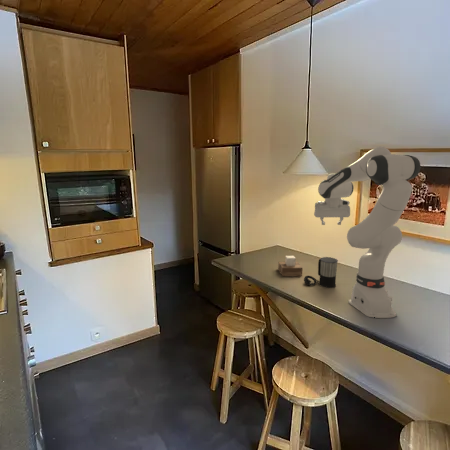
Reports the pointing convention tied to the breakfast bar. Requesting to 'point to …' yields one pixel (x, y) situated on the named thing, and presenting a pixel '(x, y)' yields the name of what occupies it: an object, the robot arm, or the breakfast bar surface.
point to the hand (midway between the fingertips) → (331, 224)
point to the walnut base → (290, 269)
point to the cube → (290, 260)
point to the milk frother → (325, 273)
